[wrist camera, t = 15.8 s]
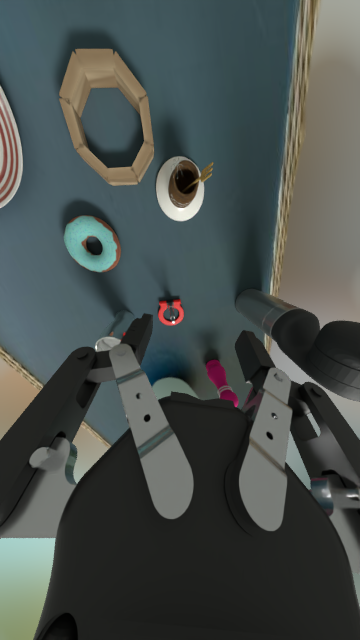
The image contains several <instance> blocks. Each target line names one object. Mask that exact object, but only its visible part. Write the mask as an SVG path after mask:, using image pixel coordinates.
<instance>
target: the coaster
mask: <svg viewBox="0 0 360 640" xmlns="http://www.w3.org/2000/svg"><path fill="white" fill-rule="evenodd" d="M178 157H179V158H178ZM178 157H173V158H171V159H169V160H168V161H166V162H165V163H164V165H163V166H162V167H161V169H160V171H159V174H158V177H157V182H156V193H157V199H158V202H159V205H160V207H161V209H162V210H163V212H164V213H165V214H166V215H167V216H168V217H169V218H171V219H173V220H176V221H186V220H188V219H190V218H192V217H193V216H194V215H195V214H196V213H197V212H198V210H199V208H200V206H201V204H202V201H203V196H204V183H203V182H201V180H199V186H198V190H197V193H196V196H195V198H194V199H193V201H192V202H191V203H190V204H189V205H188V206H187V207H185V208H178V207H176V206H175V205H173V203H172V202H171V200H170V198H169V193H168V186H169V180H170V176H171V173H172V172H173V170H174V168H175V167H176V165H177V163H179V162H181V160H182V161H183V160H188V161H191V160H189V159H188V158H185V157H181V156H178ZM174 159H175V160H176V161H175V160H174ZM173 160H174V161H173ZM191 162H192V161H191ZM192 163H193V162H192ZM193 164H194V163H193ZM174 165H175V167H174ZM194 165H195V164H194ZM195 166H196V165H195ZM171 168H172V170H171ZM196 168H197V170H198V173H199V177H200V176H201V173H200V171H199V169H198V167H197V166H196Z"/></svg>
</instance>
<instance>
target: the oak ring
mask: <svg viewBox="0 0 360 640" xmlns="http://www.w3.org/2000/svg"><path fill="white" fill-rule="evenodd" d="M75 51H76V54H75V53H74V52H72V55H71V58H70V61H69V64H68V67H67V71H66V74H65V77H64V80H63V83H62V86H61V90H60V93H59V95H60V97H61V98H62V99H59V100H60V103H61V106H62V109H63V112H64V116H65V119H66V122H67V125H68V128H69V131H70V135H71V138H72V141H73V144H74V147H75V149H76V150H77V152H78V153H79V155H80V156H81V157H82V158H83V159H84V161H85V162H87V163H88V164H89V165H90V166H91V167H92V168H93V169H94V170H95V171H96V172H97V173H98V174H99V175H100V176H102V177H103V178H104V179H105V180H106V181H107V182H108V183H109V184H110V185H111V184H112V186H118V185H132V184H138V182H139V183H140V181H141V179H142V177H143V176H144V174H145V172H146V170H147V168H148V166H149V164H150V163H151V161H152V159H153V157H154V144H153V136H152V128H151V120H150V112H149V104H148V96H147V97H146V92H145V90H144V89H143V88H142V86H141V85H140V84H139V82H138V81H137V79H136V78H135V77H134V75H133V74H132V73H131V71H130V70H129V69H128V67H127V66H126V65H125V63H124V62H123V60H122V59H121V58H120V56H119V55H118V54H117V52H116V51H115V54H113V50H112V49H75ZM91 88H119V89H120V91H121V92H122V93H123V94H124V96H125V97H126V98H127V99H128V101H129V102H130V103H131V104H132V106H133V107H134V108H135V109H136V111H137V112H138V113H139V114H140V116H141V121H142V128H143V135H144V143H143V145H142V147H141V149H140V151H139V153H138V155H137V157H136V159H135V161H134V163H133V165H132V167H120V168H107V167H106V166H105V165H104V164H103V163H102V162H101V161H100V160H99V159H98V158H97V157H96V156H95V155H94V154H92V153H91V152H90V151H89V148H88V144H87V141H86V137H85V133H84V130H83V126H82V123H81V119H80V117H81V114H82V112H83V109H84V106H85V104H86V101H87V98H88V95H89V93H90V90H91ZM137 181H138V182H137Z"/></svg>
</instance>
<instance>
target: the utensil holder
mask: <svg viewBox="0 0 360 640" xmlns="http://www.w3.org/2000/svg"><path fill="white" fill-rule="evenodd" d="M178 158H179V157H178ZM174 160H175V159H174ZM174 160H173V161H174ZM175 161H176V160H175ZM212 165H213V162H212V163H211V164H209V165H208V166H207V167H206V168H204V169H203V170H202V173H201V176H200V177H199V173H198V170H197V168H196V166H195V165H194V164H193V163H192V162H191V161H188V160H183V161H182V160H181V162H179V163H177V165H176V167H175V165H174V167H175V168H174V170H173V172H172V173H171V176H170V180H169V186H168V193H169V198H170V200H171V202H172V203H173V205H175V206H176V207H178V208H185V207H187V206H188V205H189V204H190V203H191V202H192V201H193V199H194V198H195V196H196V193H197V190H198V186H199V180H201V182H204V181H205V180H206V179H207V178H209V177H210V176H211V175H212V173H210V174H209V175H207V174H208V173H209V172H210V171H212V168H210V167H211V166H212ZM209 168H210V169H209ZM207 169H209V170H208V171H206V170H207ZM171 170H172V168H171ZM206 175H207V176H206ZM205 176H206V177H205Z"/></svg>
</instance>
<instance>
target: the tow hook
mask: <svg viewBox="0 0 360 640" xmlns="http://www.w3.org/2000/svg"><path fill="white" fill-rule="evenodd" d="M180 303H181V301H180V299H178V300H167V301H159V304H160V306H161V308H160V309H159V313H158V316H159V319H160V321H161V322H162V323H164V324H166V325H176V324H178V323H179V322H180V321H181V320H182V319H183V316H184V311H183V309H182V307H181V306H180ZM167 307H168V309H169V312H170V319H171V320H172V321H168V320H166V319H165V318H164V316H163V312H164V311H165V309H167ZM174 308H176V309H177V310H178V311H179V316H178V318H177V319H176V320H175V315H174V310H173V309H174Z"/></svg>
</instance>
